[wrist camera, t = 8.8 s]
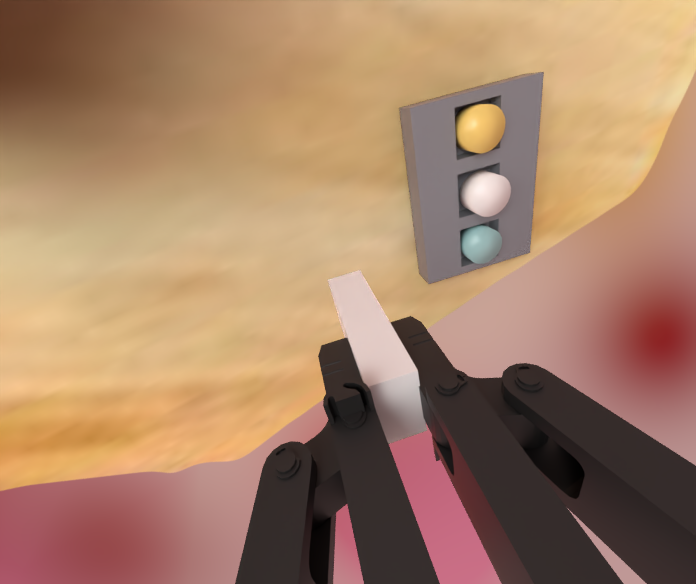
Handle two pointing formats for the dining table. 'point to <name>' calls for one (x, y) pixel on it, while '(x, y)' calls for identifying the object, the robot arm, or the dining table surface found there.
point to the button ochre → (479, 127)
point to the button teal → (480, 243)
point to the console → (456, 165)
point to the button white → (485, 193)
